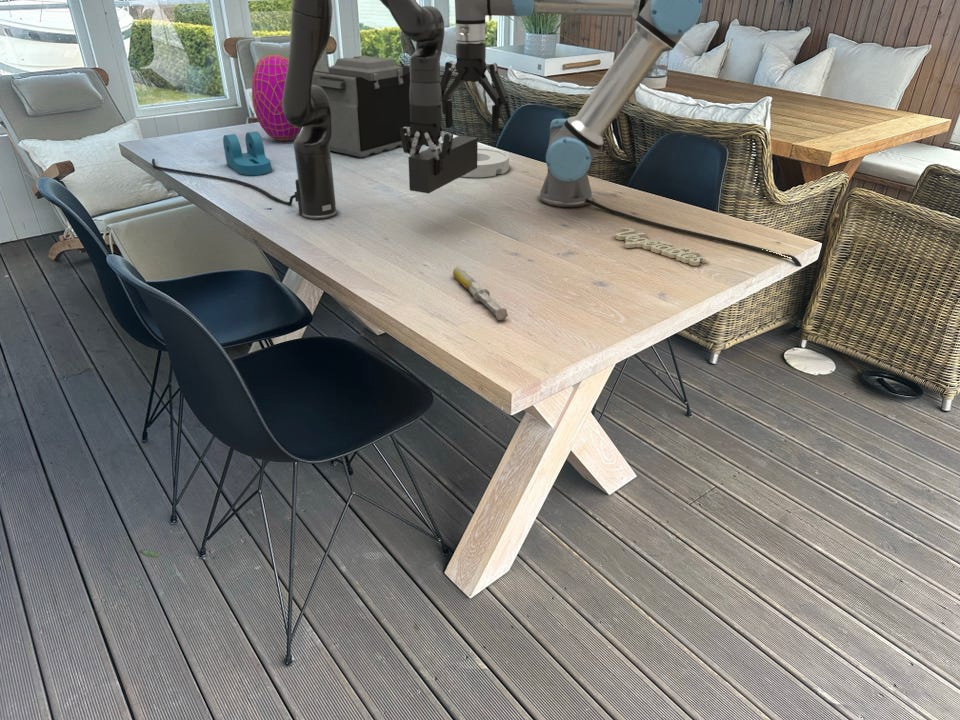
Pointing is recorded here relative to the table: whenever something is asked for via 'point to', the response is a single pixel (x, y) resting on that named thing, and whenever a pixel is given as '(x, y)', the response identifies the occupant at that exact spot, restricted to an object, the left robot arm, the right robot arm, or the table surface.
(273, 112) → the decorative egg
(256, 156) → the camera mount
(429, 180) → the bar
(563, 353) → the table surface
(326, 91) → the cooler box
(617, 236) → the decorative sign
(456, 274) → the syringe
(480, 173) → the ashtray
